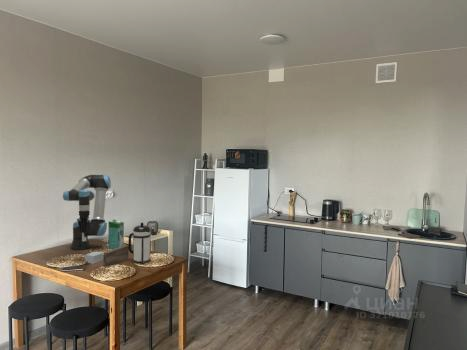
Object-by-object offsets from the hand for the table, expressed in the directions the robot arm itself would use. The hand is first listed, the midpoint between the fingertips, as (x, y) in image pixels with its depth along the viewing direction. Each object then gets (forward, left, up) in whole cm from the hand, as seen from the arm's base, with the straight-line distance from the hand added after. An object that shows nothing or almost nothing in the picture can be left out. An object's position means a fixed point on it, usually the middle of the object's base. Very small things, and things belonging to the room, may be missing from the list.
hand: (84, 240), depth 267 cm
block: (+10, 0, -15) cm, 18 cm away
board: (+26, +6, -14) cm, 30 cm away
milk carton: (+2, +32, -15) cm, 35 cm away
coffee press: (+40, +16, -15) cm, 45 cm away
